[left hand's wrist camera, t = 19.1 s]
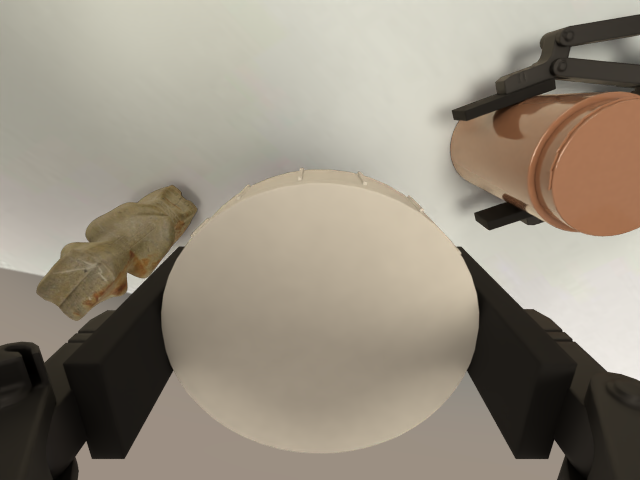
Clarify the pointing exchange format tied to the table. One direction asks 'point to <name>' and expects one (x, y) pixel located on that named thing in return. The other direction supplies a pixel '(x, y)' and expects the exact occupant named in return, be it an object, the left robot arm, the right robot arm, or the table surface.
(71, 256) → the sculpture
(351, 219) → the lid
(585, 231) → the jar
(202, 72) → the table surface
